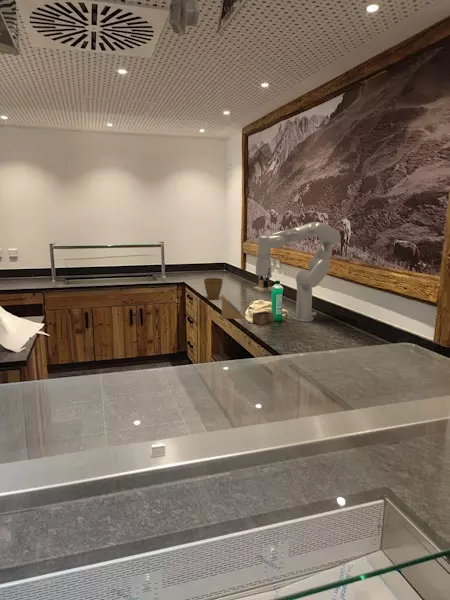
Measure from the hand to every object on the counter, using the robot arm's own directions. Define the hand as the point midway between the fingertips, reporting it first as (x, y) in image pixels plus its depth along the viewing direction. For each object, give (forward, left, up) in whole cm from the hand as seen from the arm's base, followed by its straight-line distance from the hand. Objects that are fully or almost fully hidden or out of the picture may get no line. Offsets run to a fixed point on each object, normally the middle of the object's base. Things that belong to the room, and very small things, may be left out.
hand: (263, 286), depth 256 cm
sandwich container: (+6, -23, -23) cm, 33 cm away
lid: (0, 0, -1) cm, 1 cm away
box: (0, 0, -23) cm, 23 cm away
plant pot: (-15, -80, -23) cm, 85 cm away
